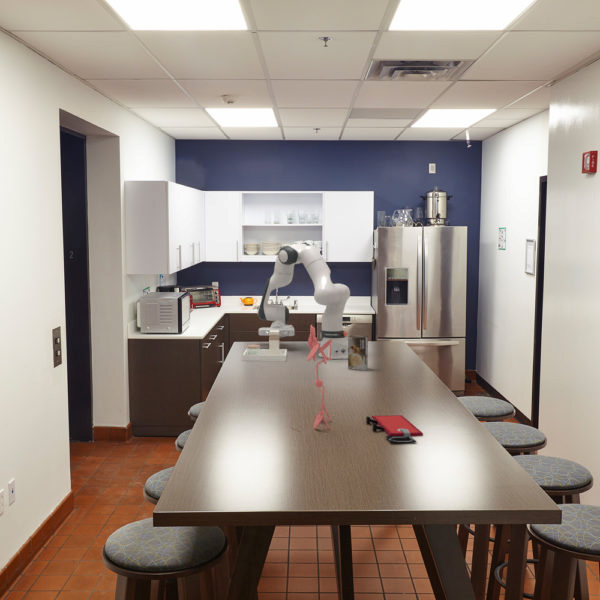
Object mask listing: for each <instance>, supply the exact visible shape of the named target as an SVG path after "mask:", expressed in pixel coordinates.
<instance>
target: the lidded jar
mask: <svg viewBox="0 0 600 600" xmlns="http://www.w3.org/2000/svg"><path fill="white" fill-rule="evenodd" d="M260 347H261V345H260V344H254V343H253V344H247V349H248V355H259V349H260Z"/></svg>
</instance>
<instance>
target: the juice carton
mask: <svg viewBox="0 0 600 600" xmlns="http://www.w3.org/2000/svg"><path fill="white" fill-rule="evenodd" d="M268 344H269V347H268V349H269V355H279V349H280V338H279V330H270V331H269V337H268Z"/></svg>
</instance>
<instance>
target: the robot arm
mask: <svg viewBox="0 0 600 600" xmlns="http://www.w3.org/2000/svg"><path fill="white" fill-rule="evenodd" d="M299 264H303V266H304V268H305V269H306V272H307V273H308V275H309V277H310V279H311V281H312V284H313V287H314V294H313V298H314V300H315V303H317V304H319V305H321V306H326V307H325V310H324V311H323V313H322V316H321V329H320V347H322V346H323V345H324V344H325V343H326V342H327V341H329V340H330V339H331V340H332V341H331V360H342V359H343V360H346V359H347V360H348V337H347V335H348V332H347V331H345V330H343V317H344V311H345V307H346V305H347V302H348V300H349V298H350V296H351V290H350V288H349V286H347V285H345V284H343V283H333V281H332V280H331V272H332V271H331V269H330V267H329V266H328V264H327V263H326V261H325V258H324V257H323V256H322V254H321V253H320V251H319V250H318V249H317V248H316V247H315V246H314V245H311V244H309V243H307V242H305V243H304V242H302V243H294V244H293V243H292V244H289V245H285V246H283V247H281V248H279V250H278V254H277V256H276V259H275V264H274V269H273V270H274V271H273V274H272V275H271V277H268V278H267V281H266V283H265V286H264V289H263V294H262V297H261V301H260V303H259V305H258V308H257V311H256V313H257V317H258V318H259V320H261V321H271V322H272V323H271V324H270V327H260V328H258V336H269V331H270V330H279V339H280V338H285V337H294V336H295V328H294V326H293V325H292V324H289V322H290V321H289V319H290V310H289V308H288V306H286V305H283V304H275V303H274V304H272V303H269V299H270V296H271V292H272V291H274V290H276V289H280V288H284V287H286V286H288V285H289V284H291V283H292V281H293V277H294V270H295V265H299ZM323 352H324V354H325V355H326V357H328V358H329V355H330V344H329V346H328V347H327V348H326V349H324V350H323ZM318 357H320V358H323V357H322V354H321V353H319V352H318ZM324 358H325V357H324Z"/></svg>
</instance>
